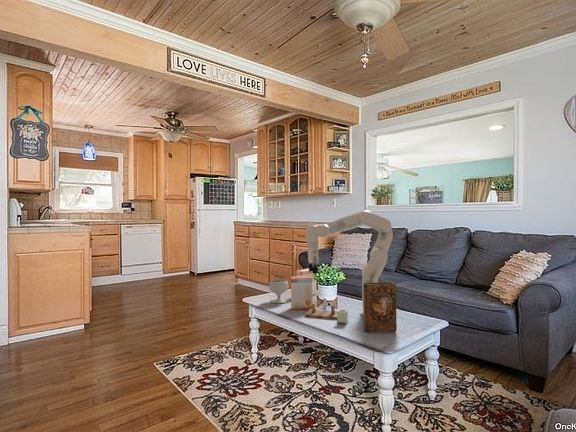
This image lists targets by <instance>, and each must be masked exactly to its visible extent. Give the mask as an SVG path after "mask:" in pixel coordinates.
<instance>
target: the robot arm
mask: <svg viewBox="0 0 576 432" xmlns="http://www.w3.org/2000/svg"><path fill="white" fill-rule="evenodd" d="M362 226H366V227H368V228H370V229H373V230H375V231H377V232H378V235H377V239H376V241H375V242H374V245H373V246H372V249H371V250H370V253H369V259H368V262H366V263H365V264H364V265H362V268H361V278H362V279H361V281H362V283H361V286H362V288H361V289H362V290H361V291H362V293H361V294H362V296H361V298H362V309H361V310H360V312H359V315H361V316H363V317H364V298H363V283H379V278H380V277H381V274H382V273H383V271H384V269H385V266H386V264H387V262H388V257H389V256H388V255H389V254H388V251H389V249H390V246H391V244H392V243H393V238H394V234H393V233H394V232H393V228H392V223H391V221H390V219H388V218H386V217H384V216H380V215H378V214H376V213H374V212H371V211H369V210H362V211H359V212H355V213H352V214H349V215H346V216H344V217H340V218H338V219H336V220H333V221H330V222H328V223H324V224H321V225H315V224H313V225H307V226H306V229H305V230H306V248H307V260H308V268H309V271H313V274H316V275H317V274H319V270H318V269H319V268H318V265H319V263H320V257H319V256H320V254H319V253H320V252H319V247H320V246H319V244H320V243H319V238H328V237H329V236H330V235H333V234H336V233H340V232H347V231H350V230H353V229H355V228H356V229H357V228H359V227H362Z"/></svg>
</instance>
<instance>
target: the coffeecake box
mask: <svg viewBox="0 0 576 432" xmlns="http://www.w3.org/2000/svg"><path fill="white" fill-rule="evenodd" d="M295 271H296V276H312V273H313V271H309V267H308V268H302V269H296V270H295ZM312 286H313V296H315V295H317V294H318V291H317V287H318V286H317V279H316V280H315V279H314V278H313V277H312Z"/></svg>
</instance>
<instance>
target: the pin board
mask: <svg viewBox="0 0 576 432" xmlns="http://www.w3.org/2000/svg"><path fill="white" fill-rule="evenodd" d="M335 306H336V305H330V310H325V309H316V303H313V304H312V309H310V310H307V312H305V314H304V317H305V318H311V319H313V318H314V319H322V320H334V321H335V320H336V321H337V311H338V310H337V311H335Z"/></svg>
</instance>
